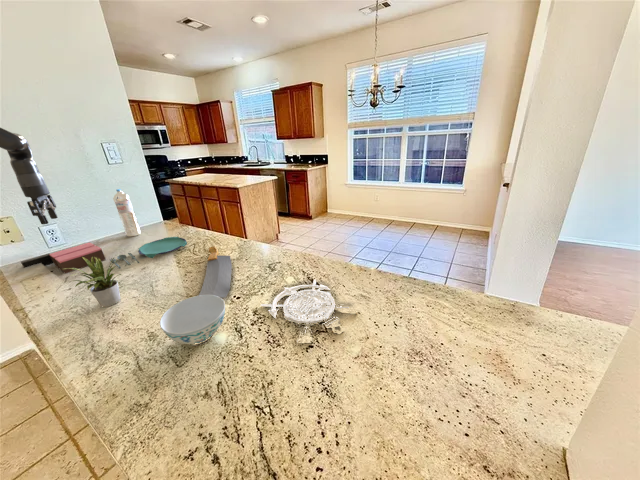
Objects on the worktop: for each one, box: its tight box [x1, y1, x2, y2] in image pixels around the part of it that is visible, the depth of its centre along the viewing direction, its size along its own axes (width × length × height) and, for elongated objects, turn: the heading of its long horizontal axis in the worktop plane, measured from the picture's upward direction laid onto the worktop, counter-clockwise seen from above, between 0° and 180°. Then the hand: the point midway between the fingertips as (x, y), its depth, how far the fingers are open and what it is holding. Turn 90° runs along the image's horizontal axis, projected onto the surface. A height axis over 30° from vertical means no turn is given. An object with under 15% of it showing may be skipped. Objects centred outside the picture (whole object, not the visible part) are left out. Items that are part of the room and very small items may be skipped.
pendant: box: [259, 278, 349, 333], centre depth 77 cm, size 21×28×1 cm
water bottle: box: [112, 188, 142, 238], centre depth 139 cm, size 7×7×25 cm
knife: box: [20, 253, 54, 269], centre depth 117 cm, size 22×2×4 cm, turn 146°
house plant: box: [65, 256, 123, 308], centre depth 82 cm, size 14×14×16 cm
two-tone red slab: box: [48, 242, 107, 275], centre depth 113 cm, size 14×14×6 cm
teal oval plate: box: [109, 236, 188, 270], centre depth 120 cm, size 20×30×2 cm, turn 138°
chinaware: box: [159, 294, 226, 345], centre depth 68 cm, size 15×15×8 cm
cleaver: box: [198, 245, 233, 300], centre depth 100 cm, size 4×10×40 cm
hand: (50, 221), depth 116 cm, fingers open, 8 cm apart
